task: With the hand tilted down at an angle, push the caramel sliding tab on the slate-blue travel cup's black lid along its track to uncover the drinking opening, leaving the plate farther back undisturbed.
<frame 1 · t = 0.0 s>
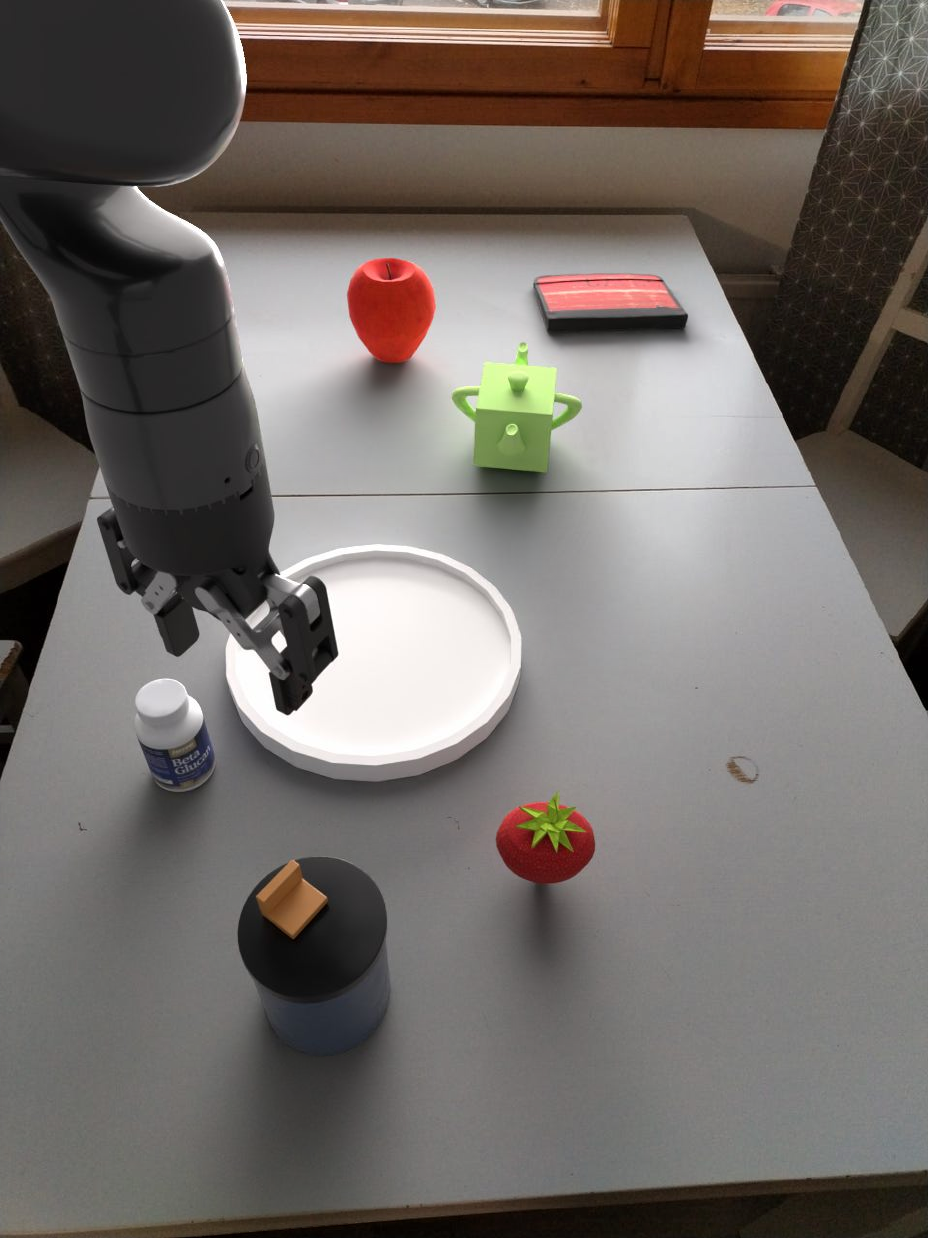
hand: (237, 674, 54), 24 cm above the table, tool pointing down, fingers open, 8 cm apart
teapot: (512, 452, 111), on the table
plate: (376, 660, 87), on the table
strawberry: (539, 876, 71), on the table
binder: (605, 306, 137), on the table
apple: (394, 356, 126), on the table
slider: (292, 899, 56), point 12 cm above the table, slide at 0.0 cm
travel cup: (327, 990, 64), on the table
pill bottle: (185, 769, 77), on the table
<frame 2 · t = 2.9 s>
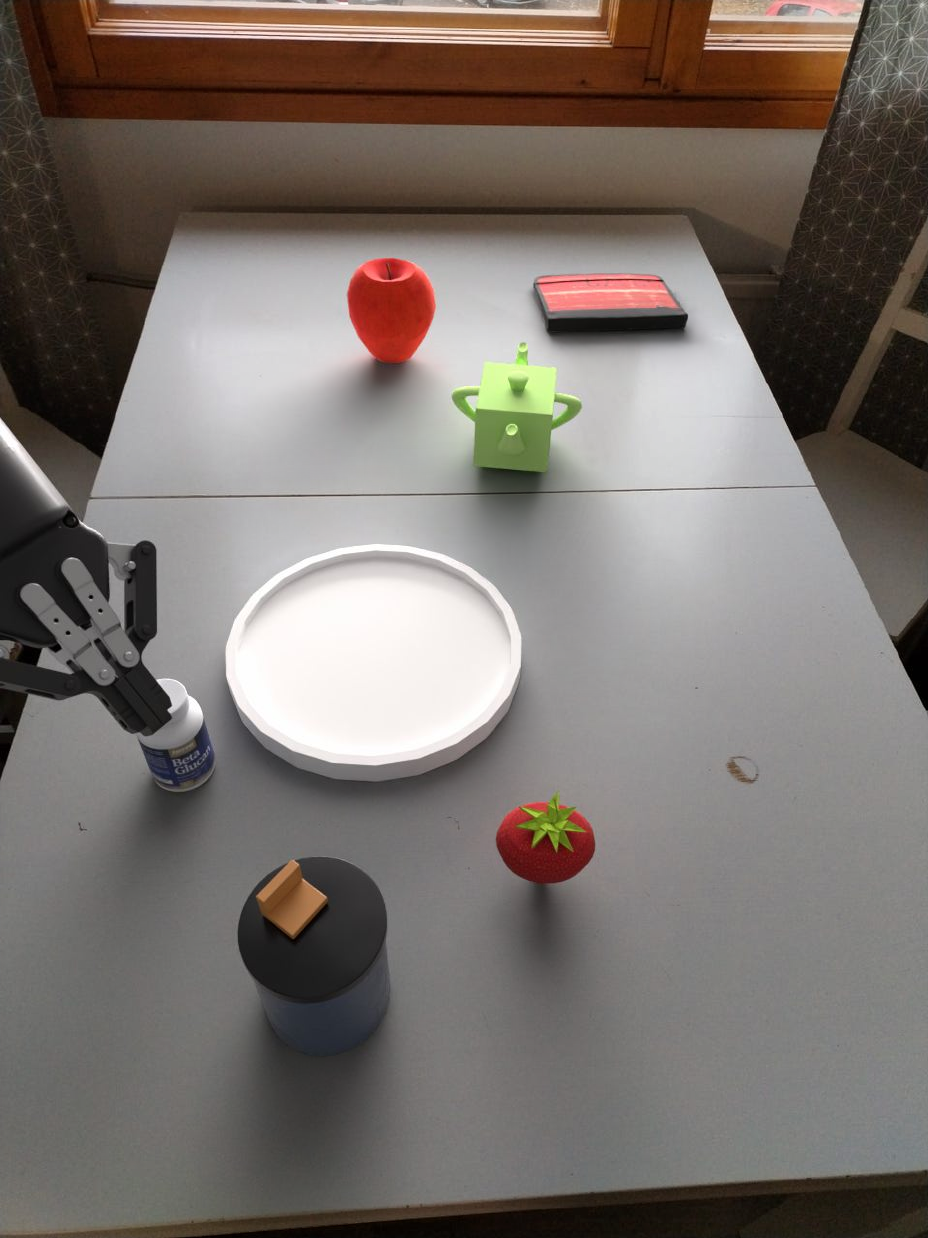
hand: (158, 727, 52), 23 cm above the table, tool tilted 45°, fingers closed
nothing on the table moved.
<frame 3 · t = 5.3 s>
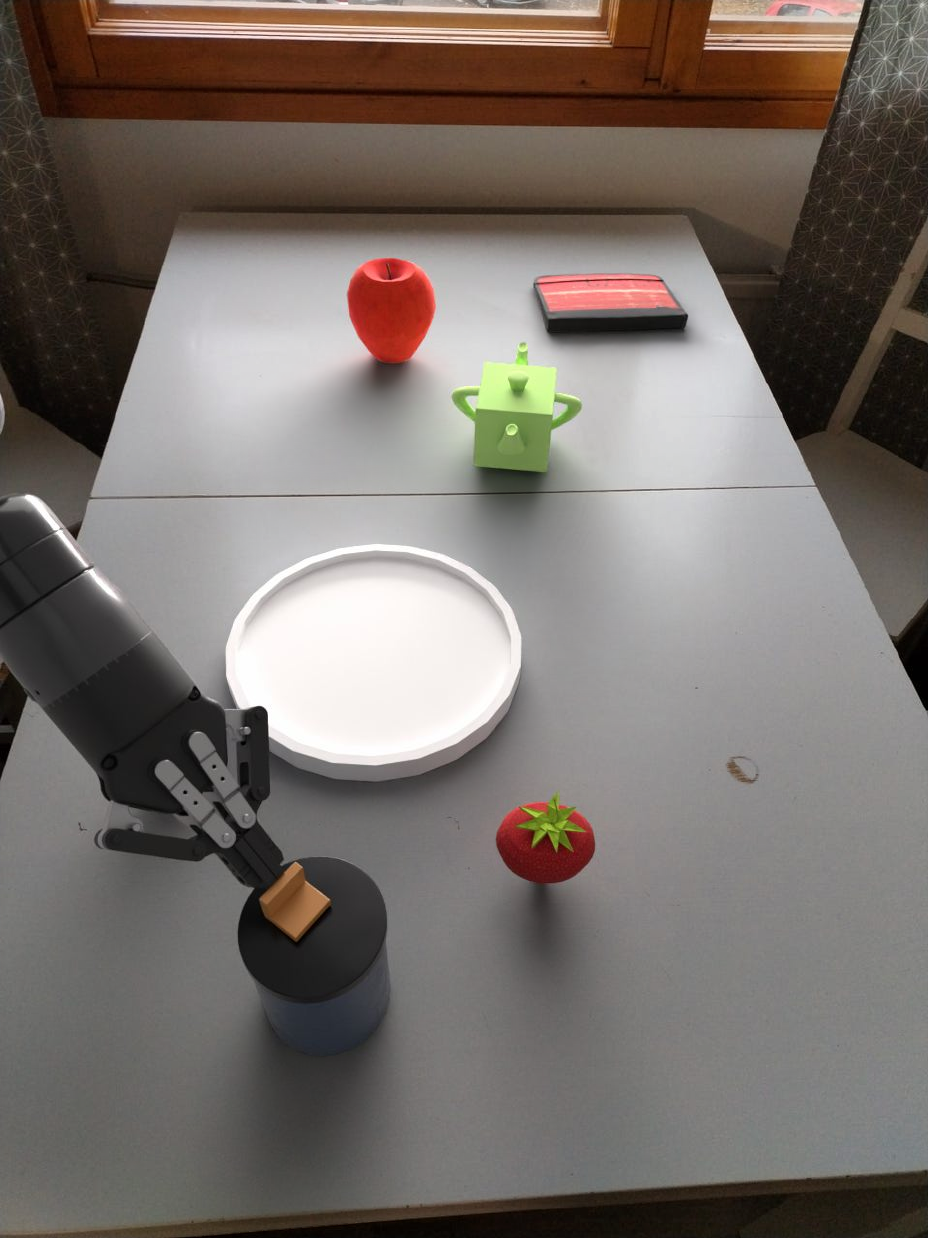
hand: (271, 879, 56), 13 cm above the table, tool tilted 45°, fingers closed
slider: (295, 901, 56), point 12 cm above the table, slide at 0.3 cm, touching gripper
everything else where it was.
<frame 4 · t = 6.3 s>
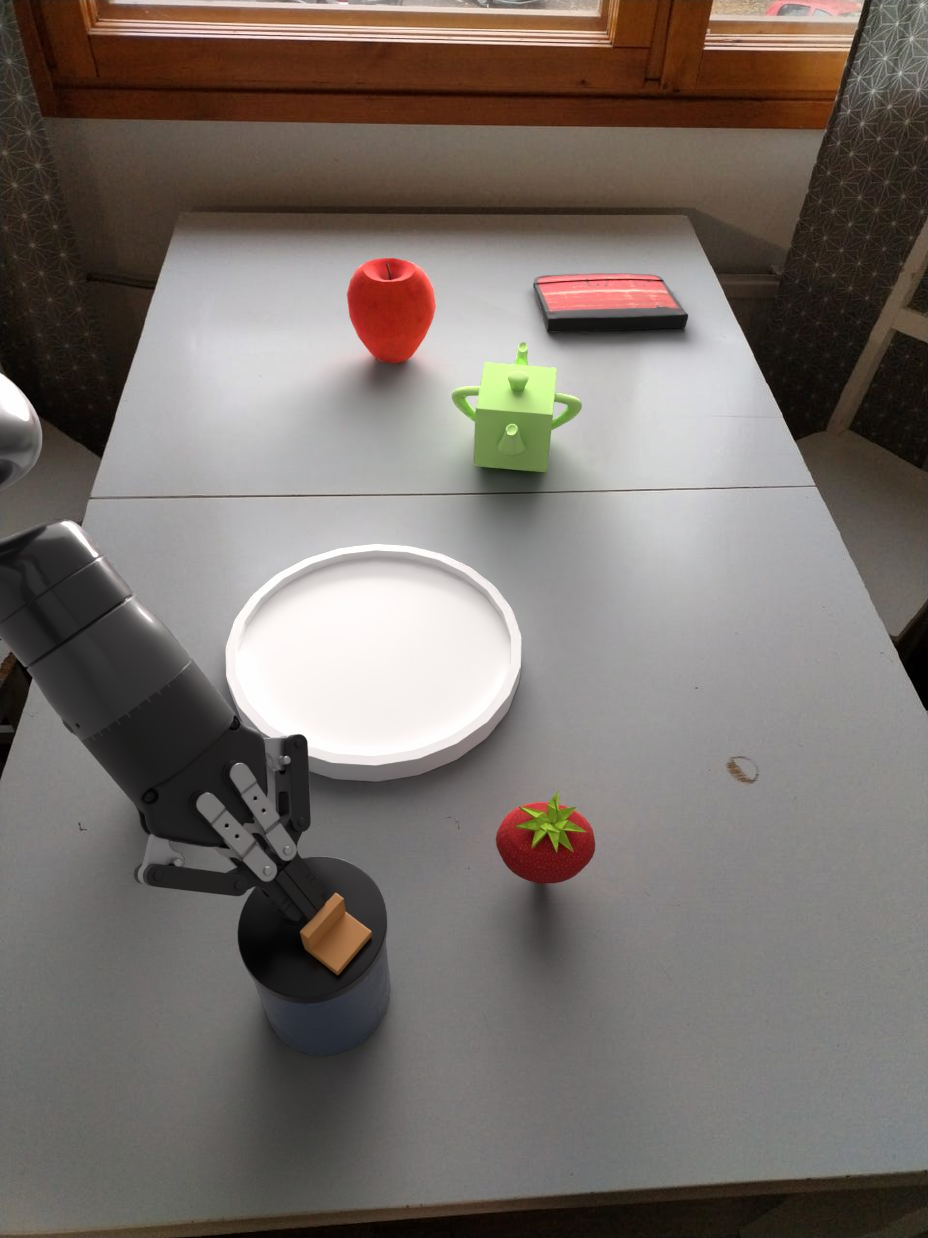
hand: (311, 912, 55), 13 cm above the table, tool tilted 45°, fingers closed
slider: (336, 933, 55), point 12 cm above the table, slide at 3.7 cm, touching gripper
everything else where it was.
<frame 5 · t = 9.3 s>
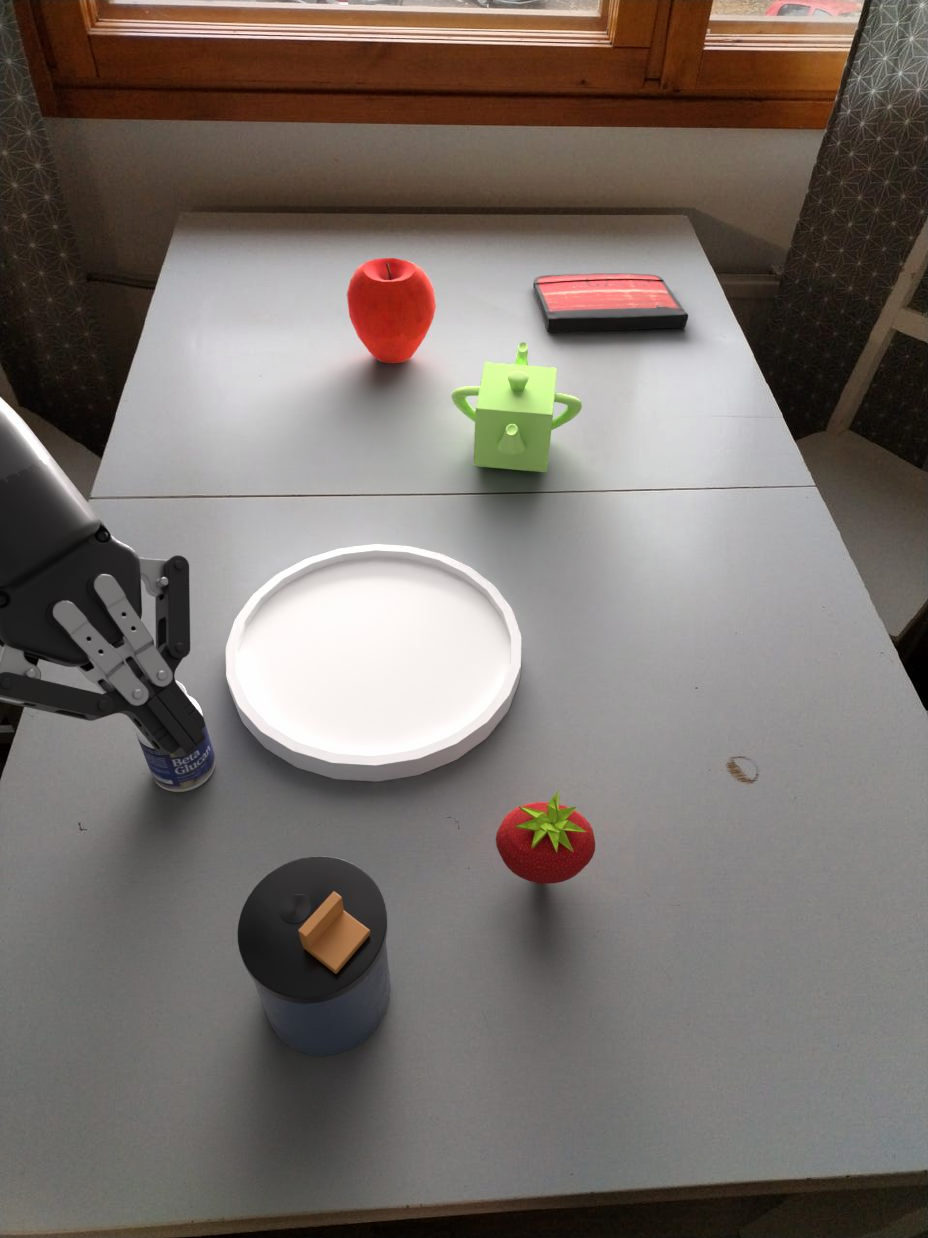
hand: (191, 747, 51), 23 cm above the table, tool tilted 45°, fingers closed
slider: (335, 932, 55), point 12 cm above the table, slide at 3.6 cm
everything else where it was.
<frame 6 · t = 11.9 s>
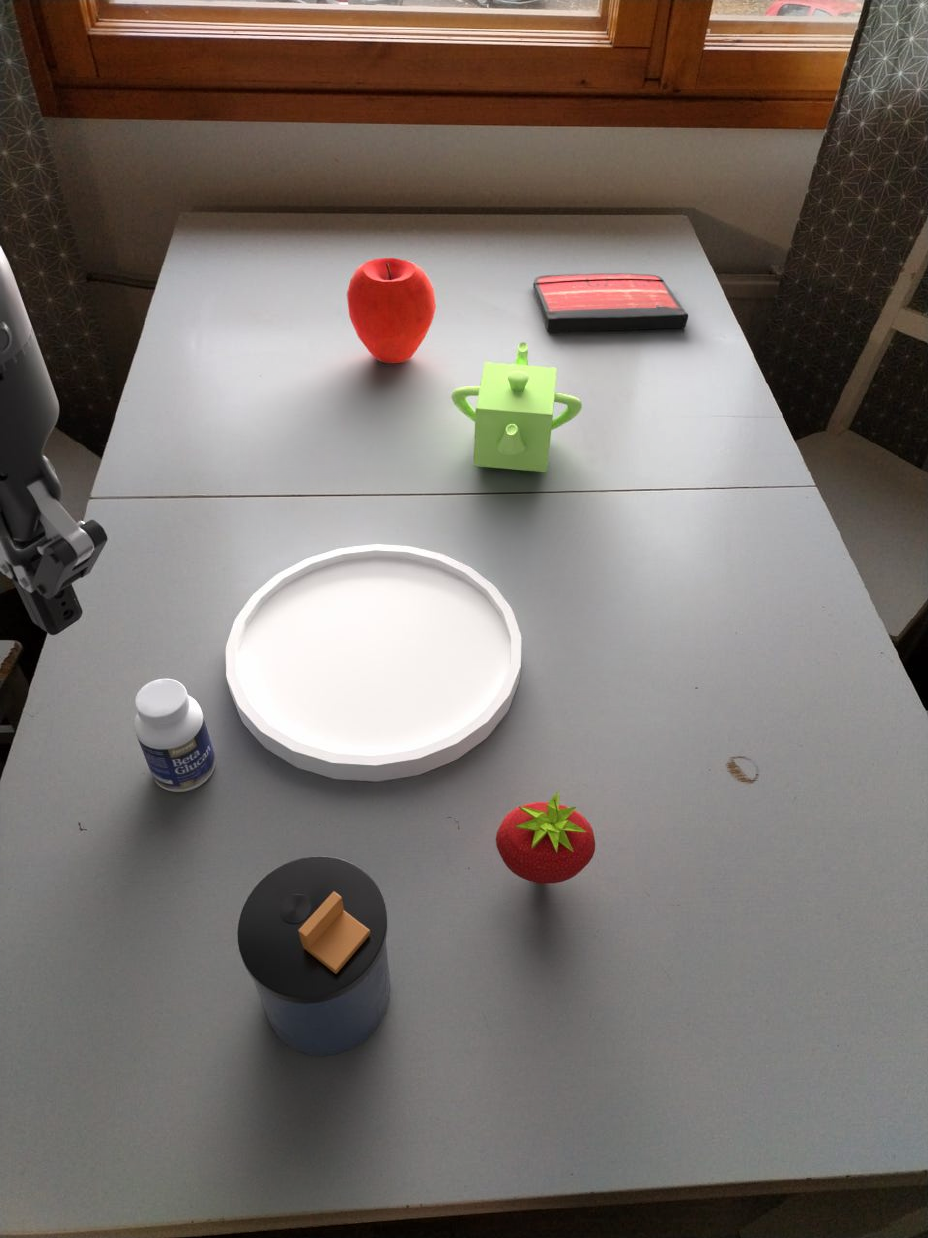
hand: (60, 621, 49), 29 cm above the table, tool pointing down, fingers closed
nothing on the table moved.
at the end: slider slide at 3.6 cm; plate moved 0.2 cm from its start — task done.
